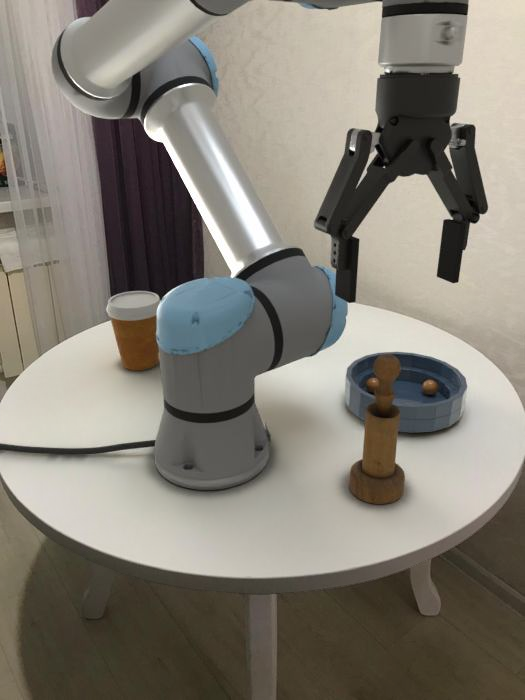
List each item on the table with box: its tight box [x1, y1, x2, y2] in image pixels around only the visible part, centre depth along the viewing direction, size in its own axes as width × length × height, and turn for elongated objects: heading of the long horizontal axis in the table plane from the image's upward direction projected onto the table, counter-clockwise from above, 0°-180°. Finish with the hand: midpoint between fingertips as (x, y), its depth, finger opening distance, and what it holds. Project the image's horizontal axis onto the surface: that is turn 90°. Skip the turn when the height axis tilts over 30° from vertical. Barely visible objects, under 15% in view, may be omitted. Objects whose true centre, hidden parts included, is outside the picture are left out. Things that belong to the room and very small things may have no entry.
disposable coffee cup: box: [105, 290, 161, 371], centre depth 102 cm, size 10×10×12 cm
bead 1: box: [366, 378, 379, 393], centre depth 92 cm, size 2×2×2 cm
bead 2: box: [422, 380, 438, 395], centre depth 92 cm, size 2×2×2 cm
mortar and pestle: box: [348, 354, 406, 505], centre depth 69 cm, size 7×6×18 cm
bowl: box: [344, 351, 468, 434], centre depth 90 cm, size 18×18×5 cm
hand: (398, 289), depth 63 cm, fingers open, 13 cm apart
